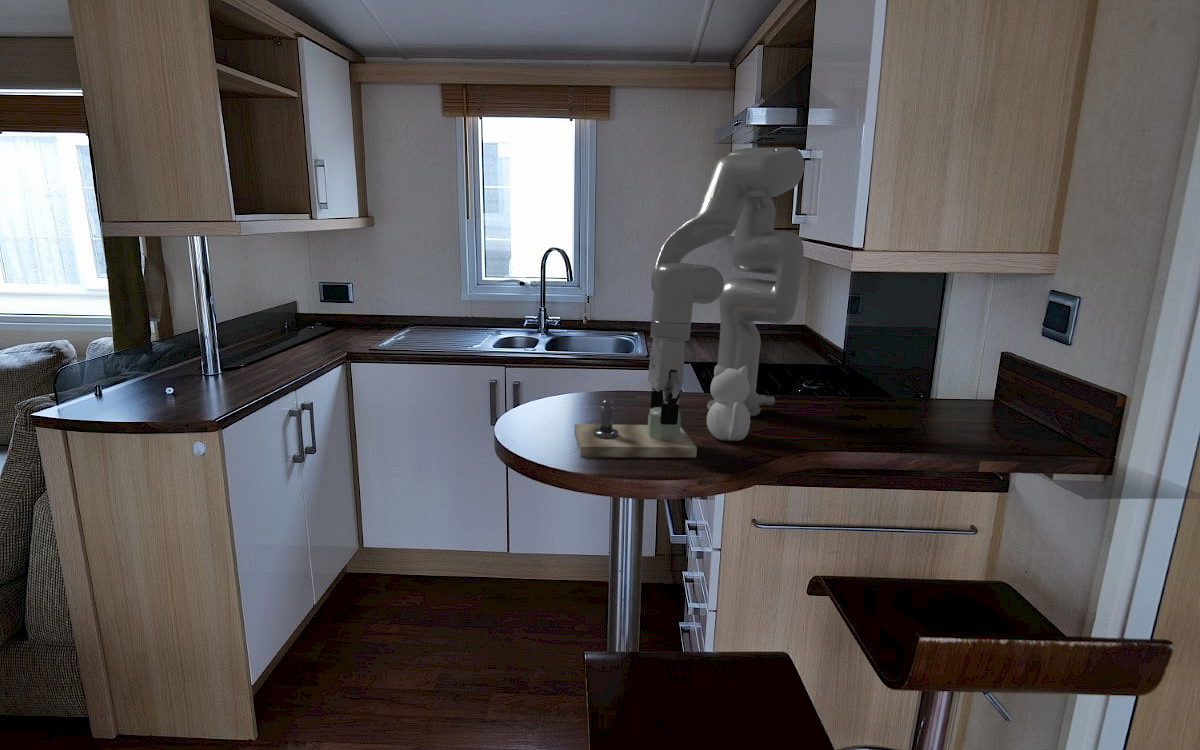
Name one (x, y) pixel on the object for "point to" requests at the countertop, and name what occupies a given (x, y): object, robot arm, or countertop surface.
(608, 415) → the pin
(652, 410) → the cap
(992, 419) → the countertop surface
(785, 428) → the countertop surface
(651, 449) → the board
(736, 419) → the cat figurine
